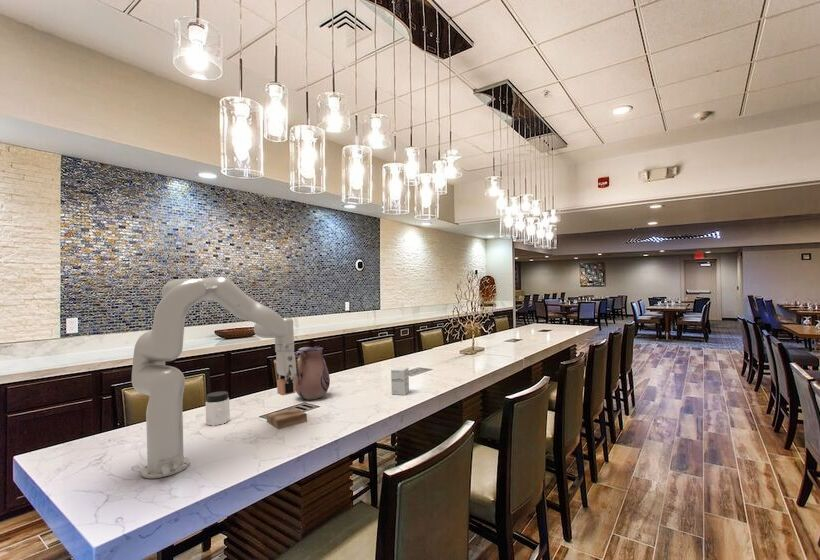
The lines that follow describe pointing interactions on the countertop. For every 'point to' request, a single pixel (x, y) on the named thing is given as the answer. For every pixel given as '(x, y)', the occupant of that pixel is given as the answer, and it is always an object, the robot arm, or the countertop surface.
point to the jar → (217, 408)
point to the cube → (281, 387)
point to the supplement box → (400, 381)
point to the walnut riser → (286, 418)
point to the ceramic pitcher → (311, 373)
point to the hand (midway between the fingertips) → (286, 391)
